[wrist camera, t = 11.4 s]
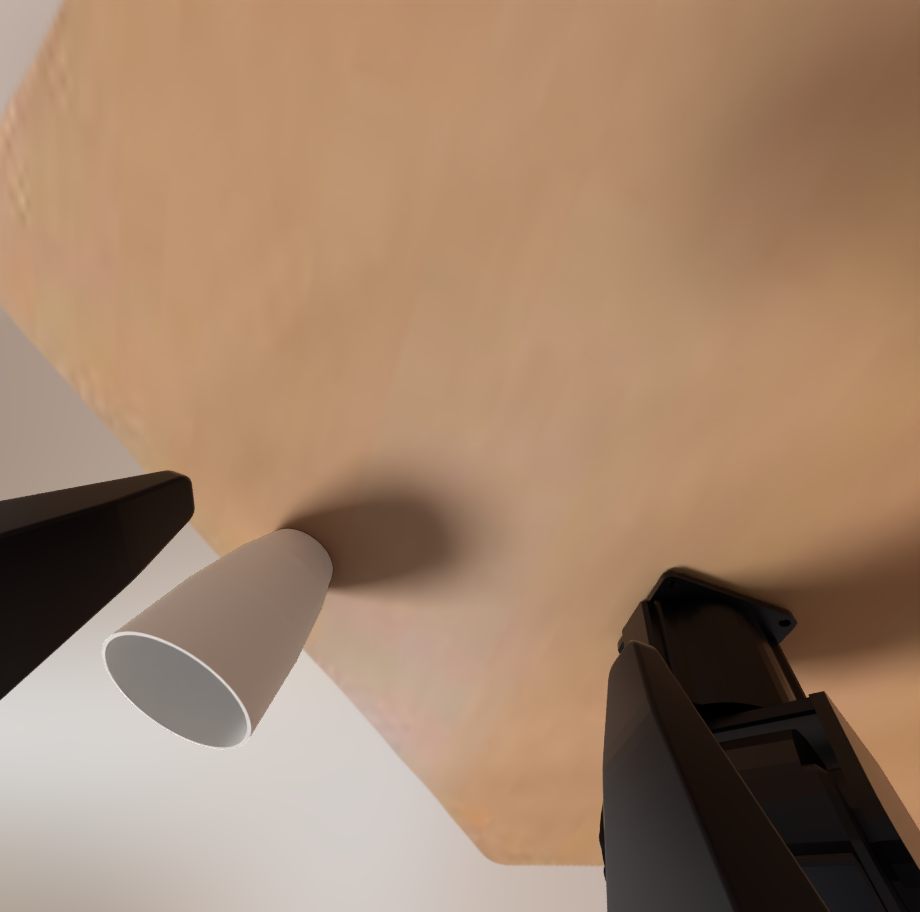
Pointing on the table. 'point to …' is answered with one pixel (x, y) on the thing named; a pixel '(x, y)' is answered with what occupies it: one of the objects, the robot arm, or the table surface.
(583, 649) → the table surface
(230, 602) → the cup
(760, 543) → the table surface
